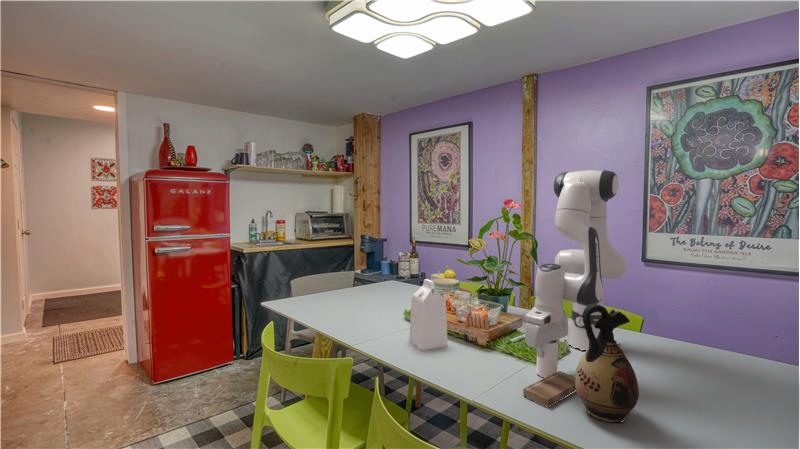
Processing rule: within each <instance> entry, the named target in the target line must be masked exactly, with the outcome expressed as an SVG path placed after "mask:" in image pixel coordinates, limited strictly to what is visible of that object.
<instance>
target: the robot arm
mask: <svg viewBox="0 0 800 449" xmlns="http://www.w3.org/2000/svg"><path fill="white" fill-rule="evenodd" d="M619 186H620V182H619V178H618V175H617V174H616V173H615V172H614V171H612V170H607V169H603V170H595V169H590V170H589V169H585V170H576V171H571V172H569V171H564V172H561V173H560V172H559V173H558V174H557V175H556V177H555V179H554V181H553V192H554V194H555V195H556V197H557V198H558V201H557V203H556V208H555V216H554V225H555V227H556V229H557V231H558V232H559V233H560V234H561V235H563V236H565V237H566V238H568V239H570V240H572V241H575V242H576V243H578V244H579V245H581V248H582V249H577V248H576V249H574V248H570V249H562V250H560V251H558V252H557V254H556V255H555V258H554V263H543V264H541V265H539V266H538V268H537V270H536V275H535V284H534V286H535V287H534V291H535V300H534V306H533V307H532V308H531V310H529V311H528V312H526V314H525V316H524V317H525V321H527V322H526V323H525V327H524V328H525V329H524V332H525V333H524V340H525V343H526V345H527V346H529V347H533V348H534V349H535V351H536V357H537V356H538V357H540V358H542V357H544V352H543V350H542V348H543V345H544V344H547V343H550V342H552V341H555V340H556V341H557V345H558V346H559V343H560V340H561V339H562V338H563V339H564V338H565V339H566V340H567V341H566V343H567V342H568V344H570V345H571V346H574V347H576V348H579V349H584V350H587V349H588V348H589V339H588V337H587V333H586V330H585V326H584V323H583V311H584V309H585V308H586V307H587V306H589V305H591V304H597V305H601V306H603V307H604V303H605V300H604V299H605V296H604V287H603V286H604V285H603V280H615V279H621V278H622V277H623V276H624V275H625V274H626V272H627V271H628V262H627V260H626V258H625V257H624V255H623V254H622V253H620V252H619V251H618V250H616V249H615V247H614V246H613V245H612V244H611V241H610V240H609V237H608V223H607V222H608V205H607V202H609V200H611V199H613V198H614V197H615V196H616V195H617V192H618V190H619ZM563 301H564V302H565V301H566V302H569V303H572V309H571V313H570V317H571V319H570V320H569V319H568V316H567V312H566V311H565V309H564V302H563ZM600 317H601V313H599V312H595V313H592V314H591V315H590V322H591V326H592V329H593V333H594V335H595V338H597V337H598V334H599V332H600V329H597V328H595V327H594V326H595V324H596V322H597V321H598V319H599V318H600ZM615 341H616V343H618V342H617V341H618V340H617V339H615ZM568 344H567V345H568ZM571 346H570V347H571Z"/></svg>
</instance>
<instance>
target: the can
mask: <svg viewBox="0 0 800 449" xmlns="http://www.w3.org/2000/svg"><path fill="white" fill-rule="evenodd" d="M542 350H543V352H544V357H542V358H540V357H538V356H537V355H536V370H535V371H536V374H537V376H538V375H539V376H538V377H540V376H541V377H540V378H542V377H545V378H546V377H548V376H551V375H553V374H555V373H557V372H558V360H559V359H558V358H559V354H558V352H559V344H558V345H557V341H556V340H555V341H552V342H550V343H547V344H544V345H543V348H542Z"/></svg>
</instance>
